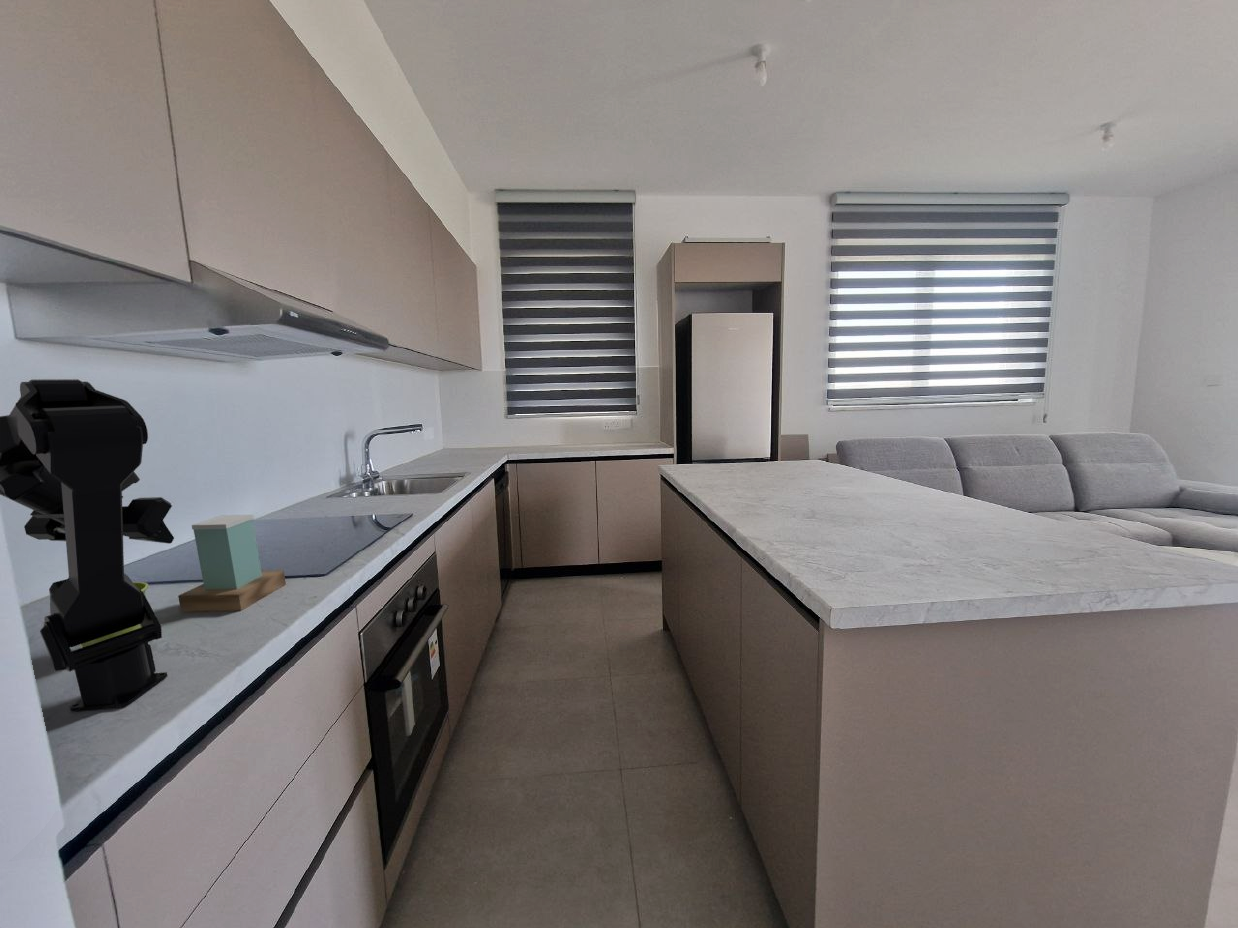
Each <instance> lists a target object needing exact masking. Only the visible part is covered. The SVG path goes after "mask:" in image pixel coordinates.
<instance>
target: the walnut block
mask: <svg viewBox="0 0 1238 928" xmlns="http://www.w3.org/2000/svg"><path fill="white" fill-rule="evenodd" d="M261 572H262V576H261V577H259V578H257V579H255V580H253V581H251V582H249V583H247V584H245V585H244V586H242V587H240V588H238V589H210V590H205V588H204V583H202V584H200V585H197V586H196V587H193V588H192V589H190V590H187V591H185V592H183V593H181V594H179V595H178V596H177V597H178V602H179V607H180V612H216V611H218V612H222V611H223V612H225V611H226V612H227V611H232V612H233V611H235V612H236V611H243V610H245V609H247V608H248V607H249V606H251V605H253V604H255V603H257V602H259V601H260V600H262V599H264V598H265V597H267V596H268V595H271V594H272V593H273V592H275V591H277V590H279V589H281V588H282V587H284V586H286V585H287V584H286V576H285V570H284V569H283V570H282V569H281V570H280V569H279V570H261Z"/></svg>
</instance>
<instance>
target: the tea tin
mask: <svg viewBox="0 0 1238 928" xmlns="http://www.w3.org/2000/svg"><path fill="white" fill-rule="evenodd" d="M254 519H255V518H254V514H230V515H229V514H228V515H227V514H225V515H221V514H220V515H219V516H215V517H213V518H210V519H209V518H208V519H206V520H204V521H200V522H197V523H193V524H191V530H193V535H194V540H195V545H196V550H197V556H198V561H199V566H200V571H201V578H202V581H203V582H202V584H204V588H205V590H210V589H238V588H240V587H242V586H244V585H245V584H247V583H249V582H251V581H253V580H255V579H257V578H259V577H261V576H262V572H261V571H262V567H261V560H260V555H259V548H258V542H257V536H256V530H255V524H254Z"/></svg>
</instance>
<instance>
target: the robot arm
mask: <svg viewBox="0 0 1238 928" xmlns="http://www.w3.org/2000/svg"><path fill="white" fill-rule="evenodd" d="M19 392H20V397H19V399H18V400H17V402H16V403H15V405H14V407H13V408H12V410H11V411H10V413H9V414H8V415H7V414H6V415H1V416H0V496H2V497H4V498H6V499H8V500H11V501H13V502H14V503H17V504H20V505H21V506H24V507H26V508H27V509H30V510H32V512H31V513H30V516H31V518H29V519H28V521H27V522H26V523H25V525H24V526H23V528H24V531H25V535H26V536H29V537H32V538H34V539H35V540H36V539H37V540H39V541H40V540H44V541H45V540H49V541H53V542H65V546H66V555H67V556H66V559H67V570H68V572H67V573H68V577H67V578H66V579H62V580H58V581H55V582H53V583H51V586H50V587H49V589H48V591H49V615H45V616H44V619H43V620H44V622H43V626H42V628H41V629H40V630H39V632H40V637H41V638H42V641H43V642H44V644H45V648H46V650H47V653H48V654H49V657H50V661H51V665H52V668H53V670H54V671H56V672H57V671H64V670H66V671H68V672H72V671H74V672H75V673H74V674H75V677H76V682H77V685H78V690H79V693H80V697H81V699H80V700H78V701H76V702H75V703H73V704H71V705H70V706H69V711H70V712H75V711H76V712H77V711H79V712H80V711H87V710H99V709H101V710H102V709H112V708H122V707H126V706H128V705H130V704H132V702H134V701H135V700H136V699H138V698H139V697H141V696H142V695H143V694H145V693H146V692H147V691H149V690H151V689H152V688H153V687H154V686H156V685H158V684H159V683H160V682H161V681H163V680H164V679H166V678H167V677H168V672H166V671H165V672H156V666H155V665H156V664H155V661H154V655H153V651H152V647H151V644H149V642H152V641H154V640H155V641H157V640H159V639H162V638H163V635H162V632H163V631H162V625H161V623H160V621H159V619H158V617H157V615H156V613H155V612H154V609H153V608H152V607H151V604H150V603H149V601H148V599H147V597H146V594H145V595H144V593H143V592H142V591H141V590H138V588H137V587H136V586H135V584H134V583H133V582H134V581H132V579H131V578H130V577H129V575H127V574H126V573H125V566H124V565H125V564H124V560H125V559H124V556H125V555H124V537H128V539H129V540H134V541H135V540H136V541H142V542H152V543H153V542H154V543H159V544H161V543H162V544H172V543H173V541H174V539H175V537H174V536H173V534H172V533H171V530H170V529H169V528H168V527H167V525H166V523H165V521H164V519H165V518H166V516H167V514H168V513H169V512H170V510H171V509H172V507H173V505H172V502H170V501H168V500H166V499H165V498H164V497H162V496H159V497H156V496H155V497H153V496H152V497H151V496H150V497H138V498H133V499H132V500H131V501H130V502H129V504H128V506H127V505H125V506H123V498H124V496H123V491H125V490H126V489H128V488H130V487H131V486H132V485H133V484H137V483H138V482H139V481H141V479H140V478H139V475H137V474H136V472H135V471H136V470H137V469H138V468H139V467H140V465H141V464H142V461H143V460H142V458H143V448H144V445H146V444H147V442H148V440H149V433H148V429H147V425H146V422H145V419H144V418H143V417H142V415H141V414H140V413H139V412H138V411H137V410H136V409H135V408H134V407H133V406H132V405H131V404H130V402H128V401H127V400H125V399H123V398H119V397H118V396H114V395H111V394H108V393H105V392H103V391H100V390H97V389H96V388H95V387H94V386H93V385H92V384H91V383H90V382H88V381H82V380H80V379H77V378H76V379H75V378H74V379H72V378H71V379H65V378H64V379H57V378H56V379H55V378H54V379H46V378H45V379H30V380H29V381H21V382H20V384H19ZM139 624H140V625H141V628H138V629H136V630H133V631H130V632H127V633H124V634H121V635H118V636H115V637H112V638H109V639H106V640H103V641H100V642H98V643H95V644H92V645H89V646H86V647H80V648H78V649H75V650H72V649H71V648H73V647H77V646H80V645H81V644H83V643H86V642H89V641H92V640H95V639H98V638H101V637H104V636H107V635H110V634H113V633H116V632H119V631H122V630H125V629H127V628H130V627H133V626H136V625H139Z"/></svg>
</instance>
